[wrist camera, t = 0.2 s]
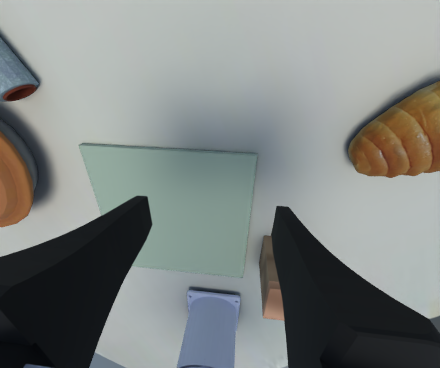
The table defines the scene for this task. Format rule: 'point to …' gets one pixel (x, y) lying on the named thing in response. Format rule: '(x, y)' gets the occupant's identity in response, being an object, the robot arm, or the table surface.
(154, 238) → the sage mat
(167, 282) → the table surface
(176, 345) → the table surface
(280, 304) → the walnut block
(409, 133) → the pastry
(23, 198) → the pie
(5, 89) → the aluminum foil
